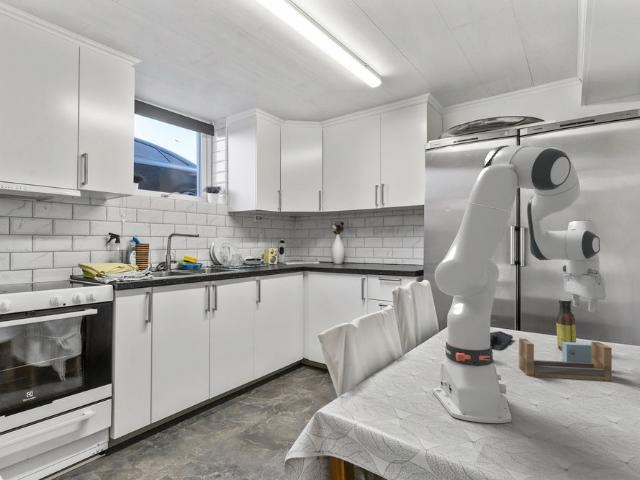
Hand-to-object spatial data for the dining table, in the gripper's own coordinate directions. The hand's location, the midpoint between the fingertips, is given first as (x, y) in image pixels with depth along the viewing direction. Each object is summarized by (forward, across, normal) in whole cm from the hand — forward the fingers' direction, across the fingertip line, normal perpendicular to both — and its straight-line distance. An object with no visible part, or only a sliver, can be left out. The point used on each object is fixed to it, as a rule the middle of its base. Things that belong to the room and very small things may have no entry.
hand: (584, 309), depth 121 cm
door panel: (+20, +1, +1) cm, 20 cm away
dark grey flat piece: (+20, +28, +23) cm, 41 cm away
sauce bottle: (+20, +22, -3) cm, 30 cm away
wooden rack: (+20, -7, +10) cm, 23 cm away
